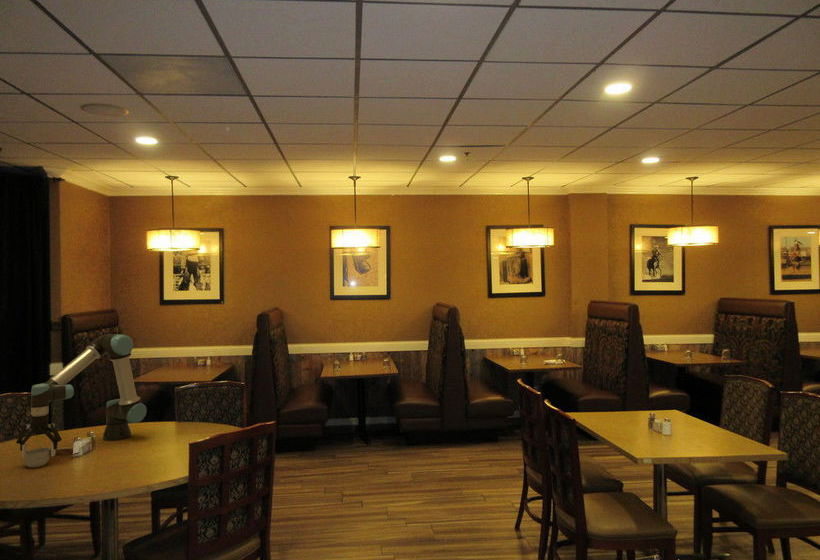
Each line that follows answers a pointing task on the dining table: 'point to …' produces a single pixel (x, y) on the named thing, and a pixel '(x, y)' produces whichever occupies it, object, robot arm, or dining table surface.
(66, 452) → the stop bar
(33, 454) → the teacup
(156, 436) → the dining table surface
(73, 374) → the robot arm
